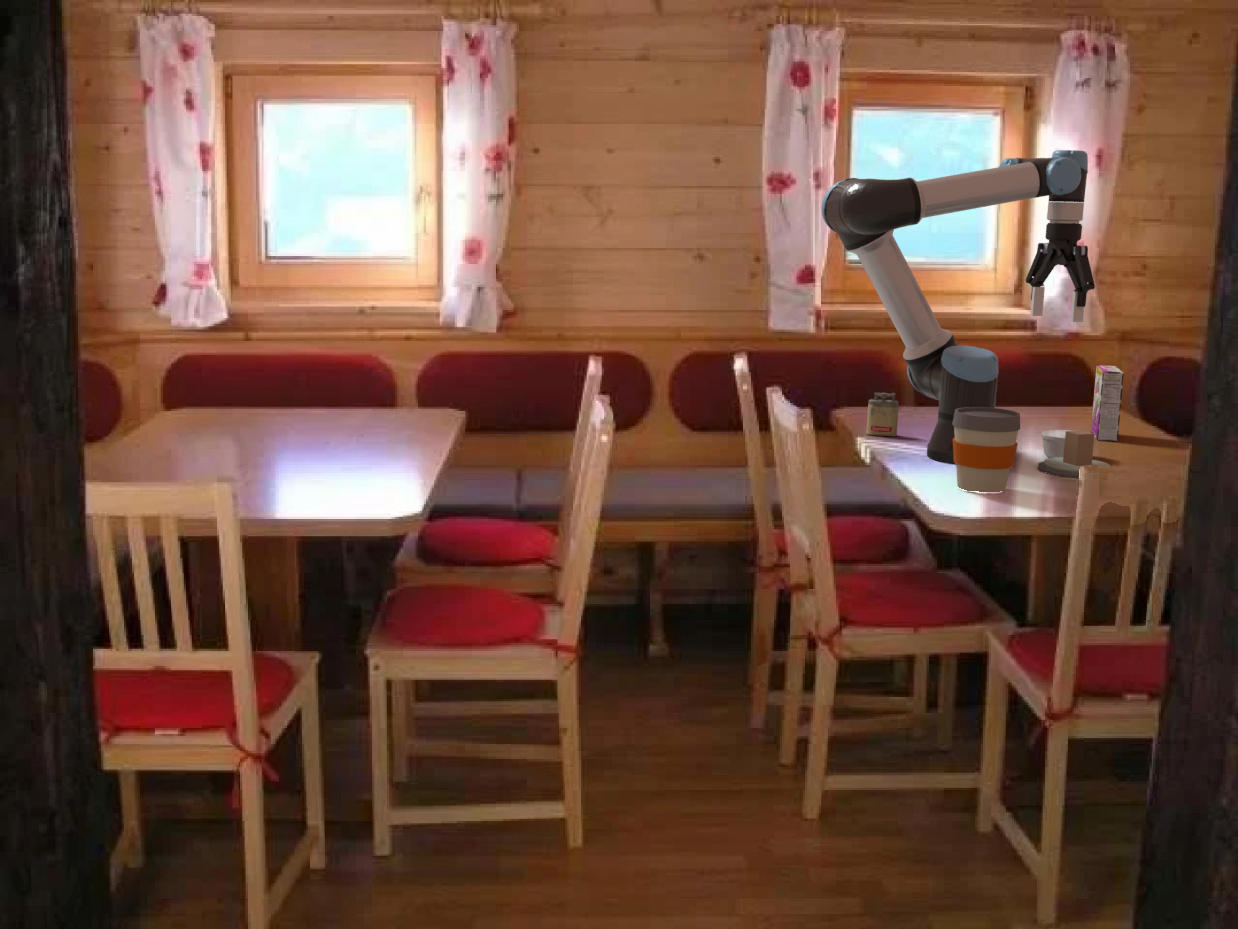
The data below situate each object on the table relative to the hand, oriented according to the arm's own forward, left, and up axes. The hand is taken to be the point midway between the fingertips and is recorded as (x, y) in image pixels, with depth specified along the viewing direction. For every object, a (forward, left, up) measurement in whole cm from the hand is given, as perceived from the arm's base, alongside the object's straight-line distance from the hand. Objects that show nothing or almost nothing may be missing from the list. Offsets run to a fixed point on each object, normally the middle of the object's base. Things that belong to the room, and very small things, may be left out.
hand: (1056, 318), depth 301 cm
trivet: (-13, -26, -29) cm, 41 cm away
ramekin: (-5, -13, -29) cm, 32 cm away
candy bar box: (+21, +5, -29) cm, 36 cm away
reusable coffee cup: (-43, -35, -29) cm, 63 cm away
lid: (-13, -26, -28) cm, 40 cm away
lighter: (-30, +21, -29) cm, 47 cm away
